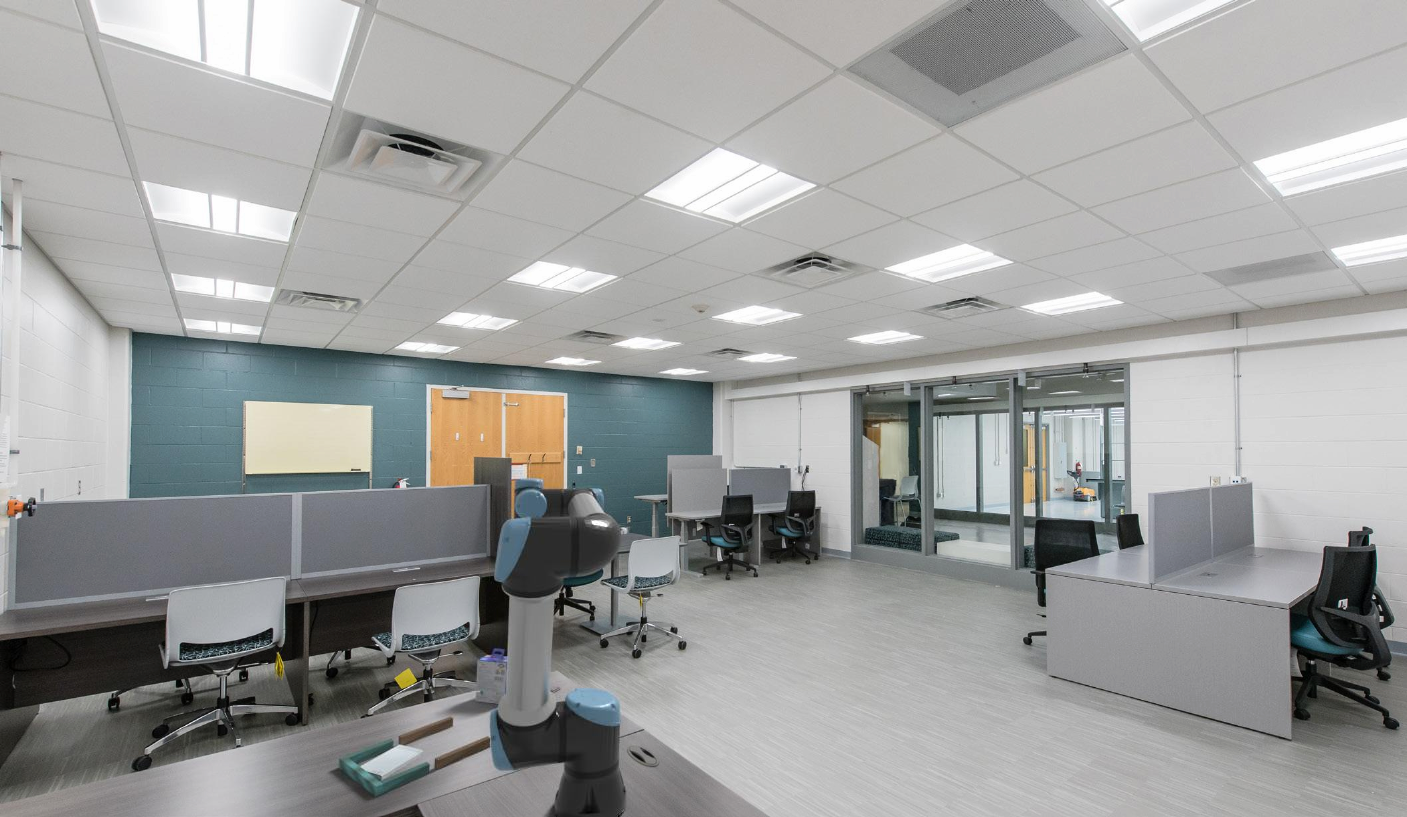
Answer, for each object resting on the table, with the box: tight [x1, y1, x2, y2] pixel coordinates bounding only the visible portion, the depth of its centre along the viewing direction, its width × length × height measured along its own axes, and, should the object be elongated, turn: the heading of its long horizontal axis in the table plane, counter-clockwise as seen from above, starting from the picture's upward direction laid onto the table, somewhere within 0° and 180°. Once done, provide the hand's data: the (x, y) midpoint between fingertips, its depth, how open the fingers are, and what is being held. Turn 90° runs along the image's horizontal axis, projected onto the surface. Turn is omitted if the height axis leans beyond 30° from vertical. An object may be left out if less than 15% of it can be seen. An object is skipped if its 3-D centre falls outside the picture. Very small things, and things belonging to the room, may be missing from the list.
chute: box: [338, 716, 491, 798], centre depth 149 cm, size 19×28×2 cm
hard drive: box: [359, 744, 425, 781], centre depth 146 cm, size 2×8×12 cm
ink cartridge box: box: [475, 648, 507, 705], centre depth 182 cm, size 10×6×14 cm, turn 78°
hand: (524, 625), depth 163 cm, fingers closed
